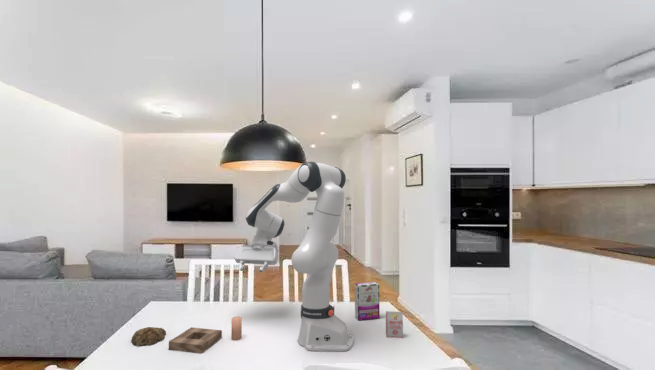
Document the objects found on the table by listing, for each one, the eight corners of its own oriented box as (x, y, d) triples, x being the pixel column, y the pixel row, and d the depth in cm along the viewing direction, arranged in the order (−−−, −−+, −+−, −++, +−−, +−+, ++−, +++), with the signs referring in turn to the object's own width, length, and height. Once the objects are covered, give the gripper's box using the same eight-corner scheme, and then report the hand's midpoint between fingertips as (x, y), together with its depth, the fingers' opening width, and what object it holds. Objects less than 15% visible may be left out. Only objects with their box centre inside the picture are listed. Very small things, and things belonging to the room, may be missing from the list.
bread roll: (134, 336, 138) (134, 323, 139) (167, 332, 143) (167, 320, 143) (127, 349, 126) (128, 336, 127) (164, 344, 131) (164, 331, 131)
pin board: (221, 337, 137) (221, 330, 137) (202, 353, 123) (202, 345, 123) (191, 334, 139) (191, 327, 140) (168, 349, 126) (168, 341, 126)
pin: (243, 336, 138) (243, 317, 138) (238, 340, 134) (239, 320, 134) (234, 335, 139) (234, 316, 139) (229, 339, 135) (229, 319, 135)
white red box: (385, 333, 142) (385, 309, 142) (401, 334, 142) (401, 310, 142) (386, 337, 138) (386, 312, 139) (403, 338, 138) (403, 313, 138)
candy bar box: (375, 315, 164) (375, 281, 165) (379, 318, 159) (379, 284, 160) (354, 317, 161) (354, 282, 162) (358, 321, 156) (358, 285, 157)
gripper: (238, 241, 160) (227, 265, 150) (278, 242, 156) (270, 268, 146) (242, 249, 164) (232, 273, 154) (281, 250, 160) (274, 276, 150)
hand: (251, 270), depth 150 cm, fingers open, 8 cm apart
